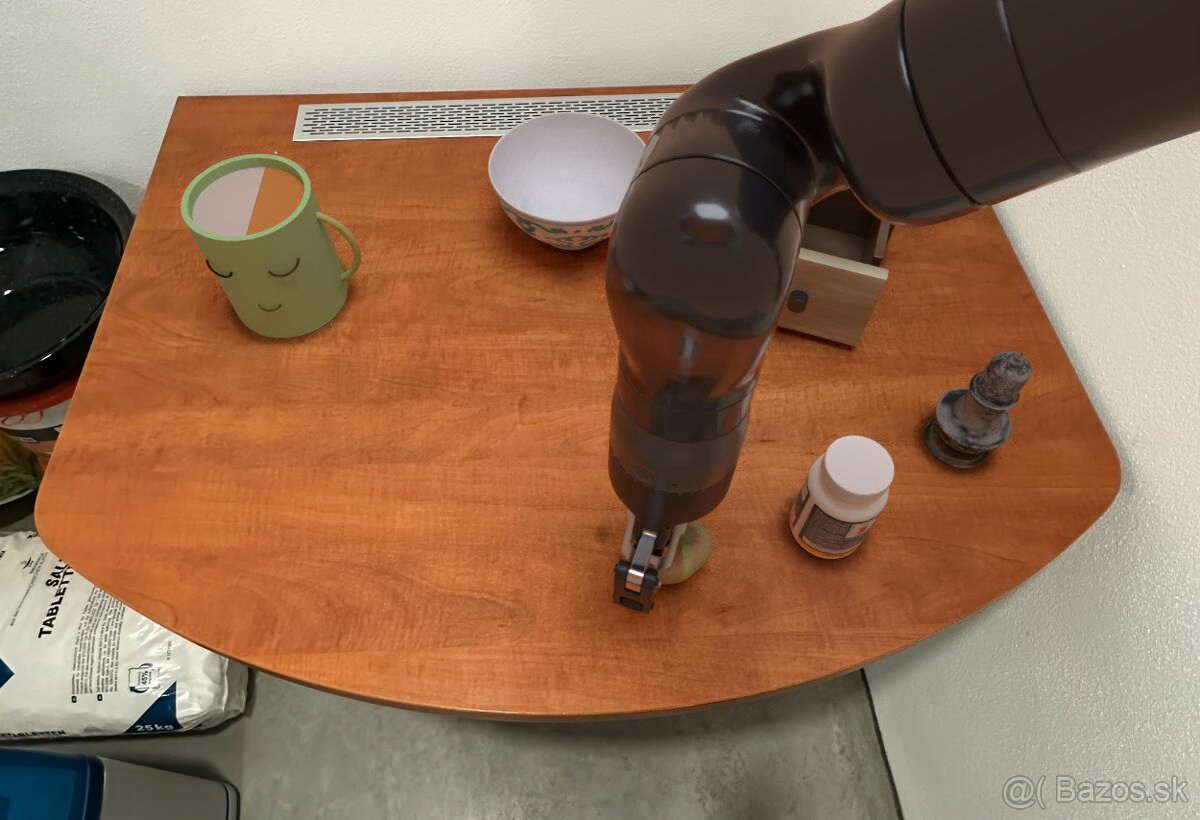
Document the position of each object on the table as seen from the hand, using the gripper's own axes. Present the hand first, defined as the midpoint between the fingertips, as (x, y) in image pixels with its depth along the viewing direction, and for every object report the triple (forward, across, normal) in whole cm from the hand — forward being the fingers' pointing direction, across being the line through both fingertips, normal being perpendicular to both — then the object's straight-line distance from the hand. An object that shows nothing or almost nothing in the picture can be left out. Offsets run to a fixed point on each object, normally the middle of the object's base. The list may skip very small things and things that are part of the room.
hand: (655, 548), depth 59 cm
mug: (+2, +14, +38) cm, 41 cm away
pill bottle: (+2, +7, -12) cm, 14 cm away
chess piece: (+2, +18, -21) cm, 28 cm away
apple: (+2, 0, 0) cm, 2 cm away
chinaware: (+2, +31, +18) cm, 36 cm away
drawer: (+1, +31, -5) cm, 31 cm away
